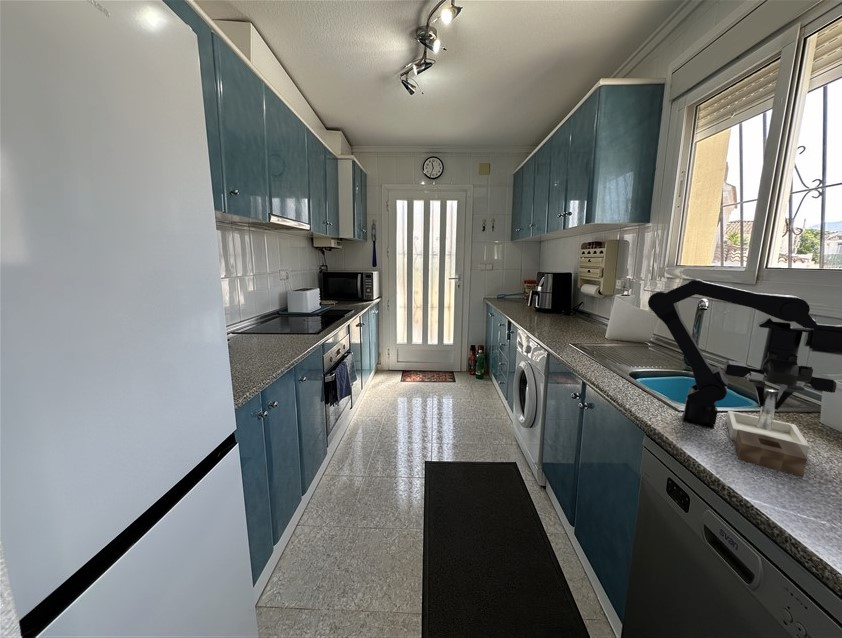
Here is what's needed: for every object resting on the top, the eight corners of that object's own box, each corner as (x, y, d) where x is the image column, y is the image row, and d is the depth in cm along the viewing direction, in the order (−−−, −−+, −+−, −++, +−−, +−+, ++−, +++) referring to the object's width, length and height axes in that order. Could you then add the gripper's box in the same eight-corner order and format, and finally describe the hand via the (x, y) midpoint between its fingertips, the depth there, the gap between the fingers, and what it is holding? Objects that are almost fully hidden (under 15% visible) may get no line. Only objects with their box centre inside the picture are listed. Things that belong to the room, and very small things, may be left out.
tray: (731, 439, 86) (733, 428, 85) (726, 420, 96) (728, 410, 96) (806, 458, 78) (809, 446, 78) (792, 435, 88) (795, 424, 88)
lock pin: (758, 428, 87) (766, 390, 85) (756, 424, 88) (764, 388, 87) (771, 431, 85) (779, 393, 83) (769, 427, 87) (777, 390, 85)
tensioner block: (738, 459, 78) (742, 443, 77) (734, 444, 84) (737, 429, 83) (803, 476, 72) (807, 459, 71) (793, 459, 78) (797, 443, 77)
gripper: (733, 347, 82) (722, 408, 85) (853, 363, 71) (835, 432, 74) (728, 339, 91) (718, 394, 94) (835, 351, 80) (819, 414, 83)
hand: (768, 407), depth 86 cm, fingers closed on lock pin, 2 cm apart
